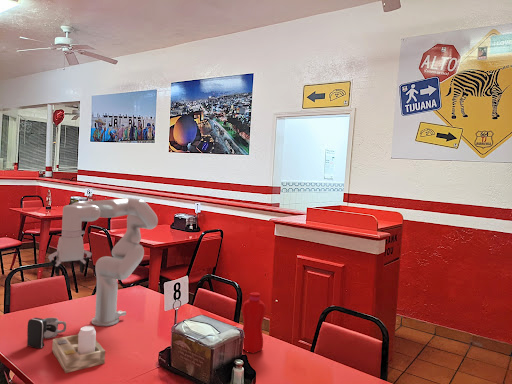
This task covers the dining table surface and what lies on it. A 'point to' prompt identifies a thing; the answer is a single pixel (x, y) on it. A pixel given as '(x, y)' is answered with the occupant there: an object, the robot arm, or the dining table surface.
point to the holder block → (76, 354)
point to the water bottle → (253, 322)
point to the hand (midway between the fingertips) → (69, 273)
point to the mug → (53, 327)
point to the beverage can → (86, 340)
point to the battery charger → (36, 332)
